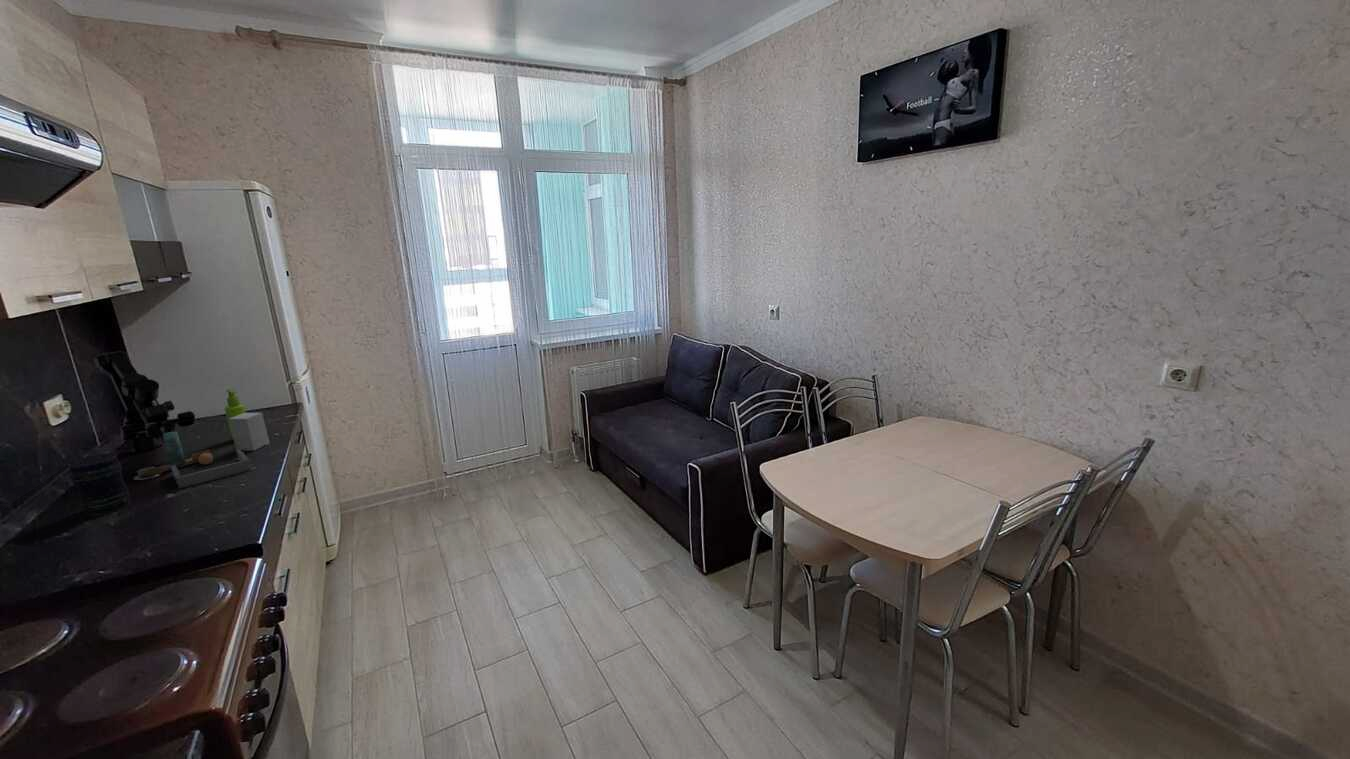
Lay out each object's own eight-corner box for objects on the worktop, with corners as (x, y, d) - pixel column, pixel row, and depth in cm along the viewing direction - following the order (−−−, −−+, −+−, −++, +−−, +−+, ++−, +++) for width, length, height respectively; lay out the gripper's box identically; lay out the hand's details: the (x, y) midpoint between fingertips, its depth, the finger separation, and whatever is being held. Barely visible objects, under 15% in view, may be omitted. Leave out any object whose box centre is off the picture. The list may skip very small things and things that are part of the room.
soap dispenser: (236, 442, 205) (223, 392, 200) (230, 439, 209) (218, 390, 204) (254, 438, 210) (243, 389, 205) (249, 434, 214) (237, 386, 209)
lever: (141, 479, 174) (130, 444, 171) (137, 476, 177) (126, 442, 173) (214, 458, 190) (205, 426, 187) (209, 456, 192) (200, 424, 189)
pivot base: (137, 482, 173) (137, 481, 172) (130, 477, 176) (130, 477, 176) (166, 474, 178) (165, 473, 178) (158, 470, 182) (158, 469, 182)
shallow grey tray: (173, 475, 177) (170, 466, 176) (242, 458, 190) (240, 449, 189) (179, 488, 167) (176, 478, 166) (251, 469, 181) (249, 459, 180)
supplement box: (270, 443, 204) (263, 412, 200) (253, 451, 197) (246, 418, 193) (252, 443, 204) (245, 412, 201) (235, 451, 197) (227, 418, 194)
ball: (204, 462, 188) (201, 451, 187) (217, 461, 188) (214, 450, 187) (196, 466, 184) (193, 455, 183) (209, 465, 184) (206, 455, 183)
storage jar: (100, 517, 151) (84, 468, 147) (74, 514, 153) (57, 465, 149) (140, 500, 160) (126, 454, 156) (115, 498, 162) (100, 452, 158)
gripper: (113, 403, 174) (133, 440, 172) (186, 389, 190) (206, 423, 187) (112, 422, 181) (132, 458, 178) (183, 407, 196) (202, 440, 193)
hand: (169, 444), depth 184 cm, fingers closed
